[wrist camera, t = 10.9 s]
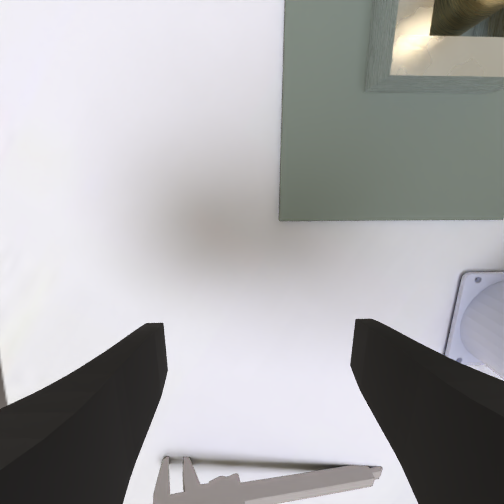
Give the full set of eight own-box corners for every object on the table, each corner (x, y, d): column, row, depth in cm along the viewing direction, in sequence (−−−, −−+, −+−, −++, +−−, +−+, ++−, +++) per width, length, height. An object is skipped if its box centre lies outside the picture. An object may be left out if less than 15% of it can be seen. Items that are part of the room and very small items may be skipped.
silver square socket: (521, -67, 16) (590, -126, 12) (488, 94, 18) (540, 77, 15) (379, -72, 15) (414, -135, 12) (363, 92, 17) (389, 75, 14)
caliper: (163, 462, 26) (140, 551, 20) (164, 452, 25) (140, 540, 19) (378, 471, 27) (417, 556, 21) (380, 462, 27) (421, 546, 21)
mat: (575, -105, 16) (584, -113, 15) (498, 218, 20) (503, 219, 20) (288, -117, 15) (289, -125, 15) (278, 220, 20) (279, 220, 19)
